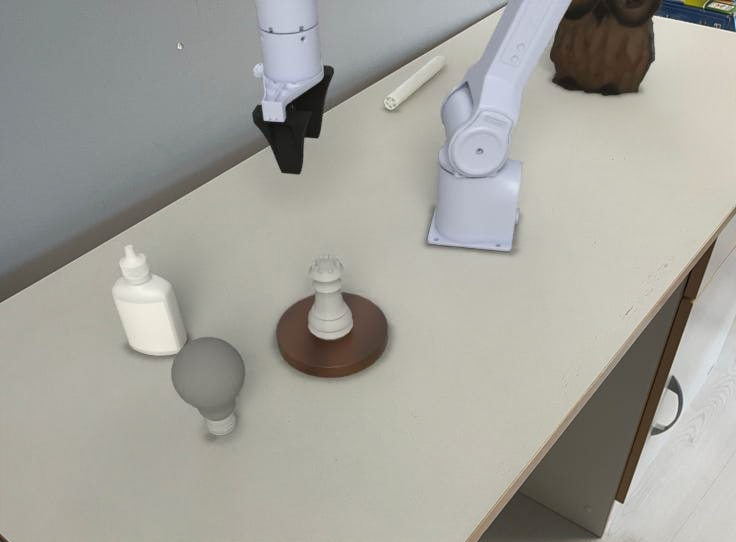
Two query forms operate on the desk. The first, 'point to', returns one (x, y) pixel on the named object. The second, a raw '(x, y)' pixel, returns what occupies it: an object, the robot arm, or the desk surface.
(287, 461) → the desk surface
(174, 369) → the light bulb
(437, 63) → the cream white rod
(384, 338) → the walnut coaster
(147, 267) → the eye dropper bottle
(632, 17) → the owl
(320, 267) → the rook chess piece
